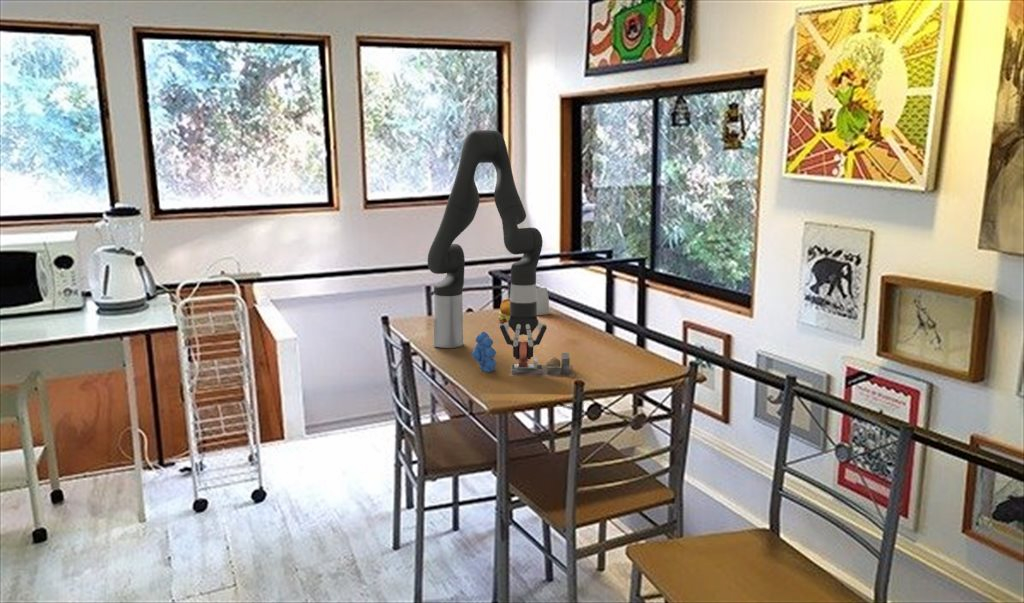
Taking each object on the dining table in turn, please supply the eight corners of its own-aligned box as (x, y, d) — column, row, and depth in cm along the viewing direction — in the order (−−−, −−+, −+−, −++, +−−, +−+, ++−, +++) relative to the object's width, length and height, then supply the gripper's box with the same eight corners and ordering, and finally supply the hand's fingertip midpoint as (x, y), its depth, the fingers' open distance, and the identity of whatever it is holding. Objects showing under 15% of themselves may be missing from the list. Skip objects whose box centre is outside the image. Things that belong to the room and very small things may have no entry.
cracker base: (509, 381, 212) (509, 360, 211) (510, 369, 223) (510, 350, 221) (574, 381, 212) (574, 361, 210) (572, 370, 222) (572, 350, 221)
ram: (514, 371, 215) (514, 343, 213) (514, 367, 219) (514, 339, 217) (537, 371, 215) (537, 343, 213) (537, 367, 219) (537, 340, 217)
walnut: (546, 372, 215) (546, 359, 214) (546, 368, 219) (546, 355, 218) (560, 372, 215) (560, 359, 214) (560, 368, 219) (560, 355, 218)
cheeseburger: (522, 317, 289) (524, 293, 285) (527, 330, 279) (528, 306, 275) (496, 317, 288) (497, 293, 283) (499, 331, 278) (500, 306, 274)
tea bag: (548, 313, 295) (548, 288, 293) (533, 315, 292) (533, 290, 290) (544, 312, 298) (544, 287, 296) (528, 313, 296) (528, 288, 294)
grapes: (464, 369, 223) (464, 329, 221) (486, 366, 226) (485, 327, 223) (479, 380, 213) (478, 339, 210) (501, 377, 215) (501, 336, 213)
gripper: (497, 301, 209) (497, 362, 213) (548, 302, 209) (548, 362, 212) (498, 296, 216) (499, 354, 220) (548, 296, 216) (547, 355, 220)
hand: (523, 358), depth 216 cm, fingers closed on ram, 3 cm apart
